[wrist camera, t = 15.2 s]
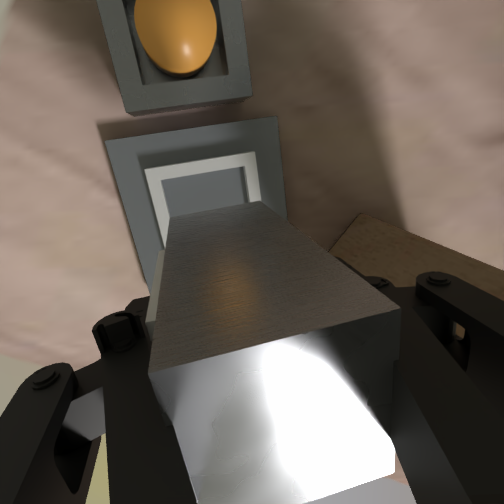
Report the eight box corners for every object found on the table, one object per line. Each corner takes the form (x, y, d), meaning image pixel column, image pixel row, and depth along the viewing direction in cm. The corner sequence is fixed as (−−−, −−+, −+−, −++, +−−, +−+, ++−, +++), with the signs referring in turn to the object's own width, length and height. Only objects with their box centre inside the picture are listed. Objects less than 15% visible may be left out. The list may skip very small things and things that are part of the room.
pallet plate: (273, 116, 27) (280, 114, 25) (288, 261, 32) (295, 269, 30) (107, 140, 25) (101, 140, 23) (152, 291, 30) (149, 302, 28)
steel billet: (260, 200, 17) (401, 307, 6) (270, 280, 19) (394, 472, 8) (169, 217, 16) (147, 373, 5) (189, 298, 18) (203, 538, 7)
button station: (224, -32, 23) (232, -65, 19) (242, 101, 26) (252, 95, 23) (98, -23, 22) (81, -56, 18) (134, 116, 25) (125, 112, 21)
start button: (205, -9, 22) (208, -30, 19) (218, 73, 23) (222, 64, 21) (131, -3, 21) (123, -24, 18) (150, 81, 23) (146, 73, 20)
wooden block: (299, 284, 34) (441, 461, 15) (359, 210, 32) (599, 306, 14) (358, 325, 37) (531, 507, 19) (415, 260, 36) (663, 388, 17)
